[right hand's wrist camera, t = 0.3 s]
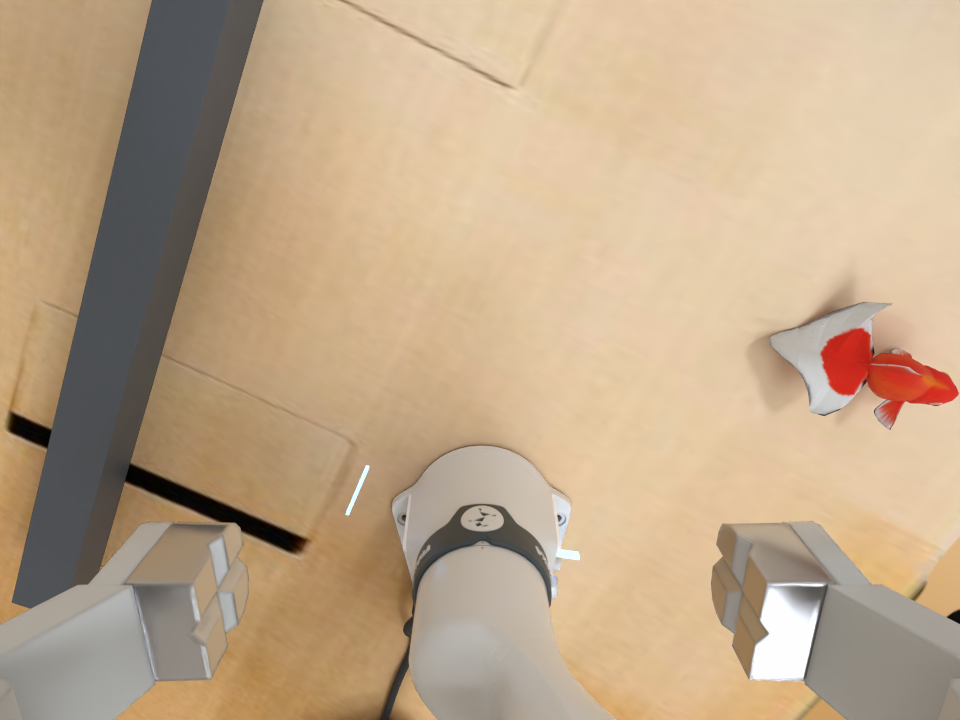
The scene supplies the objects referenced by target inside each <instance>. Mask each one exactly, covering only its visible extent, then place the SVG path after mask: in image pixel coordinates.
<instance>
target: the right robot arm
mask: <svg viewBox="0 0 960 720" xmlns="http://www.w3.org/2000/svg"><path fill="white" fill-rule="evenodd" d="M368 469H369V466H367V465H366V467H365V470H364V472H363V474H362V477H361V479H360V481H359V484H358V486H357V488H356V491H355V493H354V495H353V498H352V500H351V502H350V505H349V507H348V509H347V512H346V515H349V513H350V511H351V509H352V506H353V504H354V502H355V499H356V497H357V495H358V492H359V490H360V488H361V485H362V483H363V481H364V479H365V476H366V474H367V472H368ZM392 513H393V517H394V520H395V524H396V527H397V531H398V534H399V538H400V541H401V545H402V548H403V552H404V555H405V559H406V562H407V566H408V569H409V573H410V576H411V580H412V586H413V590H412V592H413V609H412V615H413V616H412V617H411V618H410V619H409V620H408V621H407V622H406V623H405V625H404V629H403V631H404V634H405V635H406V636H408V637H410V644H409V648H408V650H407V653H406V655H405V658H404V660H403V662H402V664H401V667H400V669H399V671H398V673H397V675H396V678H395V680H394V683H393V685H392V688H391V691H390V694H389V697H388V700H387V703H386V706H385V709H384V712H383V714H382V717H381V720H388V719H389V716H390V713H391V710H392V707H393V704H394V701H395V698H396V695H397V693H398V690H399V687H400V685H401V682H402V680H403V678H404V676H405V673H406V671H407V669H408V667H409V669H410V675H411V678H412V681H413V684H414V686H415V688H416V691H417V692H418V694H419V696H420V697H421V699H422V701H423V702H424V703H425V705H426V706H427V708H428V709H429V710H430V712H431V713H432V714H433V715H434V716H435V717H436V718H437V719H438V720H618V719H617V718H615V717H614V716H613V715H612V714H610V713H609V712H608V711H607V710H606V709H604V708H603V707H602V706H601V705H600V704H599V703H598V702H597V701H596V700H595V699H594V698H593V697H592V696H591V695H590V694H589V693H588V692H587V691H586V690H585V689H584V688H583V686H582V685H581V684H580V683H579V682H578V681H577V679H576V678H575V677H574V675H573V674H572V673H571V671H570V670H569V668H568V667H567V665H566V663H565V662H564V660H563V658H562V656H561V653H560V650H559V647H558V643H557V640H556V636H555V632H554V628H553V624H552V619H551V614H550V609H549V608H550V605H551V599H555V598H556V595H557V590H558V579H557V577H556V576H553V572H554V571H559V570H560V566H561V559H560V557H562V558H569V559H576V560H579V558H580V557H579V552H575V551H568V550H561V545H562V541H563V538H564V534H565V531H566V528H567V524H568V521H569V517H570V514H571V501H570V500H569V498H568V497H567V496H565V495H564V494H563V493H561V492H559V491H558V490H556V489H554V488H552V487H551V486H550V485H549V484H548V483H547V482H546V481H545V480H544V478H543V477H542V475H541V474H540V473H539V471H538V470H537V469H536V468H535V467H534V466H533V465H532V464H531V463H530V462H529V461H527V460H526V459H525V458H523V457H522V456H520V455H518V454H516V453H514V452H512V451H509V450H507V449H503V448H499V447H494V446H482V445H481V446H469V447H464V448H460V449H457V450H454V451H451V452H449V453H447V454H445V455H443V456H442V457H440V458H439V459H437V460H436V461H435V462H433V463H432V464H431V465H430V466H429V467H428V468H427V469H426V470H425V472H424V473H423V474H422V476H421V477H420V479H419V480H418V481H417V482H416V484H415V485H413V486H412V487H410V488H409V489H407V490H405V491H403V492H402V493H400V494H399V495H397V496H396V497H395V498H394V500H393V502H392ZM403 515H406V517H403ZM557 515H560V517H557ZM242 546H243V539H242V534H241V529H240V527H239V526H238V525H237V524H236V523H214V522H146V523H143V524H141V525H140V526H139V527H138V528H137V529H136V530H135V531H134V532H133V534H132V535H131V536H130V537H129V538H128V539H127V540H126V542H125V543H124V544H123V545H122V546H121V547H120V548H119V550H118V551H117V552H116V553H115V554H114V555H113V556H112V558H111V559H110V560H109V561H108V562H107V563H106V564H105V566H104V567H103V568H102V569H101V570H100V571H99V572H98V574H97V575H96V576H95V577H94V578H93V579H92V580H91V582H90V583H89V584H88V585H76V586H75V587H73V588H71V589H69V590H67V591H65V592H63V593H61V594H59V595H57V596H55V597H53V598H51V599H49V600H47V601H45V602H43V603H41V604H39V605H37V606H35V607H33V608H31V609H29V610H27V611H25V612H23V613H21V614H19V615H17V616H16V617H14V618H12V619H10V620H8V621H6V622H4V623H2V624H0V720H114V719H115V718H116V717H117V716H119V715H120V714H121V713H122V712H123V711H125V710H126V709H127V708H128V707H129V706H130V705H132V704H133V703H134V702H135V701H136V700H137V699H139V698H140V697H141V696H142V695H143V694H145V693H146V692H147V691H148V690H149V689H150V688H152V687H153V686H154V685H155V681H185V680H211V679H212V677H213V675H214V673H215V671H216V669H217V667H218V665H219V663H220V661H221V659H222V657H223V654H224V652H225V650H226V648H227V646H228V644H227V638H226V633H227V632H229V631H230V630H231V629H233V628H234V627H236V626H237V625H238V624H239V622H240V620H241V618H242V615H243V613H244V611H245V607H246V602H247V598H248V593H249V577H248V570H247V566H246V565H245V564H244V563H243V562H242V561H241V560H240V559H239V558H238V557H237V555H238V553H239V552H240V550H241V548H242ZM717 546H718V548H719V550H720V552H721V553H722V555H723V557H722V558H721V559H720V560H719V561H718V562H717V563H716V564H715V565H714V566H713V571H712V579H711V589H712V599H713V603H714V607H715V610H716V613H717V616H718V618H719V620H720V622H721V624H722V625H723V626H724V627H726V628H727V629H729V630H730V631H731V632H733V633H734V638H733V644H732V646H733V648H734V650H735V652H736V654H737V656H738V658H739V660H740V662H741V664H742V666H743V668H744V670H745V672H746V674H747V676H748V678H749V680H774V681H805V685H806V686H808V687H809V688H810V689H811V690H812V691H813V692H815V693H816V694H817V695H818V696H819V697H820V698H822V699H823V700H824V701H825V702H826V703H828V704H829V705H830V706H831V707H832V708H833V709H835V710H836V711H837V712H838V713H839V714H840V715H842V716H843V717H844V718H845V719H846V720H960V624H958V623H956V622H954V621H952V620H950V619H948V618H946V617H944V616H942V615H940V614H938V613H936V612H934V611H933V610H931V609H929V608H927V607H925V606H923V605H921V604H919V603H917V602H915V601H913V600H911V599H909V598H907V597H905V596H903V595H901V594H899V593H897V592H895V591H893V590H891V589H889V588H887V587H885V586H884V585H872V584H871V583H870V582H869V580H868V579H867V578H866V577H865V576H864V575H863V574H862V572H861V571H860V570H859V569H858V568H857V567H856V566H855V564H854V563H853V562H852V561H851V560H850V559H849V558H848V556H847V555H846V554H845V553H844V552H843V551H842V550H841V548H840V547H839V546H838V545H837V544H836V543H835V542H834V540H833V539H832V538H831V537H830V536H829V535H828V534H827V532H826V531H825V530H824V529H823V528H822V527H821V526H820V525H819V524H817V523H815V522H813V521H803V522H782V523H738V524H722V526H721V528H720V530H719V533H718V538H717Z"/></svg>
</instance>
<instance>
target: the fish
mask: <svg viewBox="0 0 960 720" xmlns="http://www.w3.org/2000/svg"><path fill="white" fill-rule="evenodd" d="M889 305H891V304H889V303H871V302H862V303H859V304H855V305H852V306H849V307H846V308H843V309H840V310H836V311H833V312H831V313H829V314H827V315H825V316H823V317H820V318H818V319H816V320H814V321H812V322H810V323H807V324H805V325H803V326H801V327H799V328H794V329H790V330H786V331H783V332H779V333H777V334H774V335H772V336H771V337H769V340H770V346H771V347H772V348H773V349H774V350H775V351H776V352H777V353H779V354H780V355H781V356H782V357H783V358H784V359H785V360H787V361H788V362H789V363H790V364H791V365H792V366H794V367H795V368H796V369H797V370H798V371H799V373H800V374H801V376H802V378H803V379H804V381H805V384H806V387H807V390H808V395H809V403H810V412H812V413H815V414H819V415H823V416H825V415H828V414H830V413H833V412H835V411H838V410H840V409H841V408H843V407H844V406H845V405H846V404H848V403H849V402H850V401H851V399H852V398H853V397H854V396H855V395H856V394H857V393H858V392H859V390H860V389H861V388H862V387H863V386H864V384H865V383H866V382H868V385H869V387H870V389H871V390H872V392H873V393H874V394H876V395H877V396H879V397H881V398H883V399H887V400H886V401H884V402H883V403H882V404H880V405H879V406H878V407H877V408H876V409H875V410H874V413H875V415H876V417H877V419H878V421H879V422H881V423H882V424H883V425H884V426H885V427H886V428H888V429H890V430H891V427H892V426H893V424H894V422H895V420H896V418H897V416H898V414H899V411H900V409H901V407H902V406H903V404H904V402H905V401H907V402H909V403H921V404H928V405H933V406H939V405H942V404H944V403H947V402H950V401H952V400H953V399H955V398H956V397H957V396H958V394H959V392H958V390H957V387H956V386H955V385H954V383H953V382H952V380H951V378H950V377H949V375H948V374H946V373H944V372H939V371H937V370H936V369H933V368H931V367H929V366H924V365H922V364H921V363H919V362H917V361H915V360H914V359H912V356H911V354H909V353H907V352H905V351H904V350H902V349H894V350H892V351H891V353H884V354H880V355H878V356H876V357H874V358H873V356H874V347H873V341H872V317H873V316H874V315H875V314H876V313H877V312H878V311H880V310H881V309H883V308H885V307H887V306H889ZM872 358H873V359H872Z"/></svg>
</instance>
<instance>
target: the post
mask: <svg viewBox="0 0 960 720" xmlns="http://www.w3.org/2000/svg"><path fill="white" fill-rule="evenodd" d="M262 3H263V0H152V3H151V8H150V12H149V16H148V20H147V25H146V29H145V33H144V38H143V42H142V46H141V50H140V55H139V59H138V63H137V68H136V72H135V76H134V80H133V85H132V89H131V93H130V98H129V102H128V106H127V110H126V115H125V119H124V123H123V128H122V132H121V136H120V140H119V145H118V149H117V153H116V158H115V162H114V166H113V170H112V175H111V179H110V183H109V188H108V192H107V196H106V200H105V205H104V209H103V213H102V218H101V222H100V226H99V230H98V235H97V239H96V243H95V248H94V252H93V256H92V260H91V265H90V269H89V273H88V278H87V282H86V286H85V290H84V295H83V299H82V303H81V308H80V312H79V316H78V320H77V325H76V329H75V333H74V338H73V342H72V346H71V350H70V355H69V359H68V363H67V368H66V372H65V376H64V380H63V385H62V389H61V393H60V398H59V402H58V406H57V410H56V415H55V419H54V423H53V428H52V432H51V436H50V440H49V445H48V449H47V453H46V458H45V462H44V466H43V470H42V475H41V479H40V483H39V488H38V492H37V496H36V500H35V505H34V509H33V513H32V518H31V522H30V526H29V530H28V535H27V539H26V543H25V548H24V552H23V556H22V560H21V565H20V569H19V573H18V578H17V582H16V586H15V590H14V595H13V599H12V603H15V604H18V605H21V606H24V607H27V608H30V609H31V608H33V607H35V606H37V605H39V604H41V603H43V602H45V601H47V600H49V599H51V598H53V597H55V596H57V595H59V594H61V593H63V592H65V591H67V590H69V589H71V588H73V587H75V586H76V585H88V584H89V583H90V582H91V580H92V579H93V578H94V577H95V576H96V575H97V574H98V572H99V569H100V565H101V562H102V559H103V555H104V552H105V548H106V545H107V541H108V538H109V534H110V531H111V527H112V524H113V520H114V517H115V513H116V510H117V506H118V503H119V499H120V496H121V492H122V489H123V486H124V482H125V479H126V475H127V472H128V468H129V465H130V461H131V458H132V454H133V451H134V447H135V444H136V440H137V437H138V433H139V430H140V426H141V423H142V420H143V416H144V413H145V409H146V406H147V402H148V399H149V395H150V392H151V388H152V385H153V381H154V378H155V374H156V371H157V367H158V364H159V360H160V357H161V354H162V350H163V347H164V343H165V340H166V336H167V333H168V329H169V326H170V322H171V319H172V315H173V312H174V308H175V305H176V301H177V298H178V294H179V291H180V287H181V284H182V281H183V277H184V274H185V270H186V267H187V263H188V260H189V256H190V253H191V249H192V246H193V242H194V239H195V235H196V232H197V228H198V225H199V221H200V218H201V215H202V211H203V208H204V204H205V201H206V197H207V194H208V190H209V187H210V183H211V180H212V176H213V173H214V169H215V166H216V162H217V159H218V155H219V152H220V149H221V145H222V142H223V138H224V135H225V131H226V128H227V124H228V121H229V117H230V114H231V110H232V107H233V103H234V100H235V96H236V93H237V89H238V86H239V82H240V79H241V76H242V72H243V69H244V65H245V62H246V58H247V55H248V51H249V48H250V44H251V41H252V37H253V34H254V30H255V27H256V23H257V20H258V16H259V13H260V10H261V6H262Z"/></svg>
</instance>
